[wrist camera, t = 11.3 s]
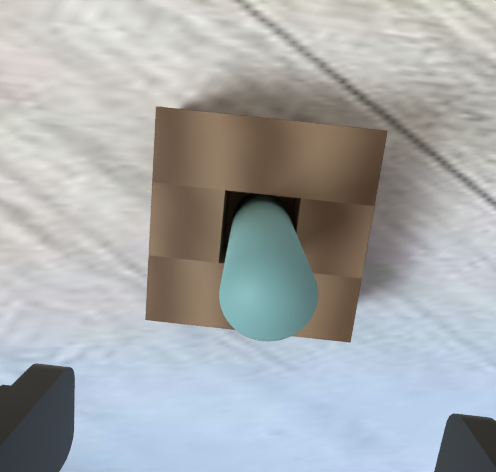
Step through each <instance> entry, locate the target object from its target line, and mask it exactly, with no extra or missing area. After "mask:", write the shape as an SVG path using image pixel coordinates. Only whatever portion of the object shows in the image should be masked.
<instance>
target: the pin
mask: <svg viewBox="0 0 496 472" xmlns="http://www.w3.org/2000/svg"><path fill="white" fill-rule="evenodd" d="M219 300H220V306H221V309H222V312H223V314H224V316H225V318H226V320H227V321H228V322H229V324H230V325H231V326H232V327H233V328H234V329H235V330H237V331H238V332H239V333H241V334H243V335H244V336H246V337H249V338H251V339H255V340H259V341H277V340H282V339H285V338H288V337H290V336H292V335H294V334H296V333H297V332H299V331H300V330H301V329H303V328H304V327H305V326H306V325H307V324H308V322H309V321H310V320H311V318H312V316H313V314H314V313H315V310H316V307H317V303H318V287H317V282H316V279H315V277H314V274H313V272H312V270H311V267H310V265H309V262H308V260H307V258H306V255H305V253H304V251H303V248H302V246H301V243H300V241H299V239H298V236H297V234H296V232H295V229H294V227H293V224H292V222H291V220H290V217H289V215H288V213H287V210H286V208H285V206H284V204H283V203H282V201H281V200H280V199H279V198H277V197H276V196H275V195H265V194H256V193H251V194H249V195H247V196H245V197H244V198H243V199H242V200H241V201H240V202H239V203H238V205H237V206H236V209H235V212H234V217H233V222H232V227H231V232H230V237H229V243H228V248H227V253H226V258H225V263H224V269H223V274H222V279H221V284H220V290H219Z"/></svg>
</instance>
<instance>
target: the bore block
mask: <svg viewBox="0 0 496 472" xmlns="http://www.w3.org/2000/svg"><path fill="white" fill-rule="evenodd" d="M386 137H387V131H383V130H374V129H364V128H355V127H345V126H336V125H327V124H317V123H308V122H298V121H289V120H279V119H270V118H260V117H251V116H241V115H232V114H222V113H213V112H203V111H194V110H185V109H175V108H166V107H156V119H155V139H154V159H153V179H152V200H151V220H150V240H149V260H148V280H147V300H146V320H151V321H160V322H169V323H178V324H187V325H196V326H206V327H215V328H224V329H233V330H235V329H234V328H233V327H232V326H231V325H230V324H229V322H228V321H227V320H226V318H225V316H224V314H223V312H222V309H221V306H220V300H219V290H220V284H221V279H222V274H223V269H224V263H225V258H226V253H227V248H228V243H229V237H230V232H231V227H232V222H233V217H234V212H235V209H236V206H237V205H238V203H239V202H240V201H241V200H242V199H243V198H244V197H245V196H247V195H249V194H251V193H256V194H265V195H275V196H276V197H277V198H279V199H280V200H281V201H282V203H283V204H284V206H285V208H286V210H287V213H288V215H289V217H290V220H291V222H292V224H293V227H294V229H295V232H296V234H297V236H298V239H299V241H300V243H301V246H302V248H303V251H304V253H305V255H306V258H307V260H308V262H309V265H310V267H311V270H312V272H313V274H314V277H315V279H316V282H317V287H318V303H317V307H316V310H315V313H314V314H313V316H312V318H311V320H310V321H309V322H308V324H307V325H306V326H305V327H304V328H303V329H301V330H300V331H299V332H297V333H296V334H294V335H292V336H296V337H306V338H315V339H324V340H333V341H342V342H351V336H352V331H353V325H354V319H355V314H356V308H357V302H358V296H359V291H360V285H361V279H362V274H363V268H364V262H365V256H366V251H367V245H368V239H369V234H370V228H371V222H372V216H373V211H374V205H375V199H376V194H377V188H378V182H379V177H380V171H381V165H382V159H383V154H384V148H385V142H386Z"/></svg>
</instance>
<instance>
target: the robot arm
mask: <svg viewBox="0 0 496 472" xmlns="http://www.w3.org/2000/svg"><path fill="white" fill-rule="evenodd" d="M74 390H75V376H74V371H73V369H72V368H70V367H62V366H54V365H45V364H33V365H32V366H31V367H30V368H29V369H28V370H27V371H26V372H25V373H24V374H23V375H21V376H20V377H19V378H18V379H17V380H16V381H15V382H14V383H13V384H12V385H11V386H9V385H1V386H0V472H59V471H60V470H61V468H62V466H63V465H64V463H65V461H66V459H67V457H68V454H69V451H70V448H71V445H72V440H73V434H74ZM434 472H496V421H495V420H493V419H492V418H488V417H480V416H471V415H463V414H452V415H450V416H449V418H448V420H447V423H446V426H445V430H444V435H443V439H442V443H441V447H440V451H439V455H438V459H437V463H436V467H435V471H434Z"/></svg>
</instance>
